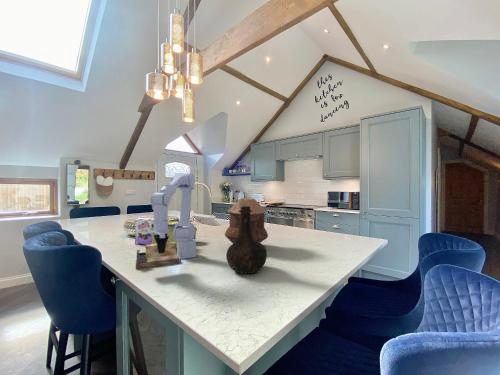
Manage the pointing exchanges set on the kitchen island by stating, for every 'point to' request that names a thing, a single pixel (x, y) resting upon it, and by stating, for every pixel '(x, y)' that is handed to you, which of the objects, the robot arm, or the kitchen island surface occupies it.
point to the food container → (195, 232)
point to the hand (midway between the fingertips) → (161, 251)
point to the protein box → (170, 233)
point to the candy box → (143, 230)
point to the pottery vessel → (256, 220)
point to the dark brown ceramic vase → (246, 247)
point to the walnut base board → (158, 261)
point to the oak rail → (153, 252)
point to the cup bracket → (141, 257)
